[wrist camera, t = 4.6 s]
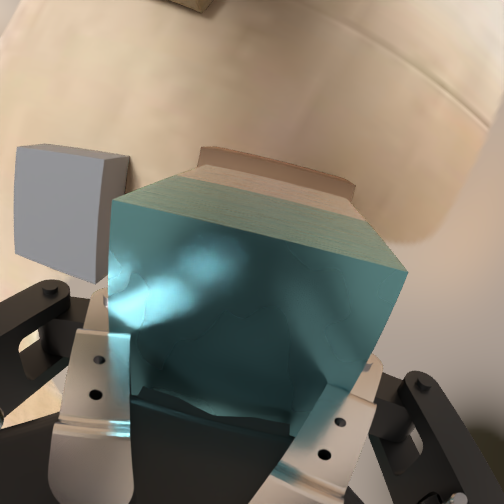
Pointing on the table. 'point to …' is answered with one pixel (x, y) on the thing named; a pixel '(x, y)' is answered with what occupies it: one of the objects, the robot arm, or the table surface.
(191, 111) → the table surface
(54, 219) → the stand
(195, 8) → the computer
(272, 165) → the stand
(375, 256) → the housing
